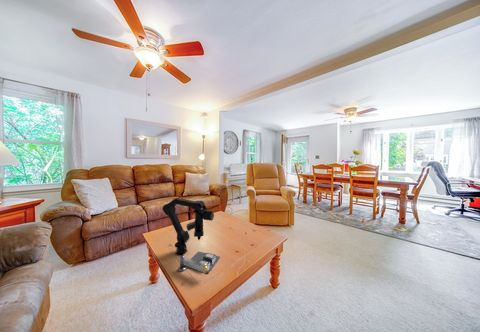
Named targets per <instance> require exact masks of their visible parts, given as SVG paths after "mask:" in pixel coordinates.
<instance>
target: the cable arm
mask: <svg viewBox="0 0 480 332" xmlns="http://www.w3.org/2000/svg"><path fill="white" fill-rule="evenodd" d="M190 259H191V258H187V257H184V259H183V264H184V265H187V266H189V267H191V268H194V269H196V270H195V271H197V270H199V271H198V272H200V271H201V273H203V274H207V265H203V264H201V263H198V262H196V261H193V260H190Z"/></svg>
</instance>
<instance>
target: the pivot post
mask: <svg viewBox="0 0 480 332" xmlns="http://www.w3.org/2000/svg"><path fill="white" fill-rule="evenodd" d="M184 258H185V254H184V255H179V267H177V271H178V272H180V273H182V272H184V271H186V270H187V267H186V266H184V264H183V259H184Z"/></svg>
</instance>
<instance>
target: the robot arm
mask: <svg viewBox="0 0 480 332" xmlns="http://www.w3.org/2000/svg"><path fill="white" fill-rule="evenodd" d="M177 205H179V206H184V207H189V208H191V209H192V210H193V211H191V212H192V213H193V214H194V221H191V222H189V223H187V224H186V230H184V228H183V226H182V224H181V222H180V219H179V217H178V215H177V213H176V211H177V208H176V206H177ZM162 211H163V213H164V214H165V215H167V217H168V218H169V219H170V221H171V224H172V226H173V228H174V230H175V233H176V240H177V242H175V243H174V248H176V252H175V255H178V256H181V255H184V256H185V254H186V253H187V252H188V251H189V250H188V249H187V243H188V241H189V240H190V237H191V236H190V233H189V231H191V230H194V231H193V237H194V238H196V237H197V240H198V241H200V240H201V237H204V234H205V233H204V221H213V220H214V218H215V214H214V211H213V210H209V209H208V208H207V206H206V204H205V202H204V200H190V199H185V198H180V197H176V198H173V199H172V200H171V201H170V202H168V203H166V204H163V206H162Z"/></svg>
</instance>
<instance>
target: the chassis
mask: <svg viewBox="0 0 480 332" xmlns="http://www.w3.org/2000/svg"><path fill="white" fill-rule="evenodd" d="M220 258H221V257H220V256H219V255H216V254H214V253H210V252H203V251H199V250H197V252H196V253H195V254H194V255H192V257H190V258H189V259H190V260H193V261H196V262H198V263H201V264H203V265H207V273H206V274H207V275H209V273H210V272H211V271H212V270H213V268H214V267H215V266H216V265H217V263H218V261H219V260H220ZM184 266H186V269H191V270H194V271H198V272H201V271H199V270H196V269H194V268H191V267H189V266H187V265H184ZM201 273H202V272H201Z"/></svg>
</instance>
